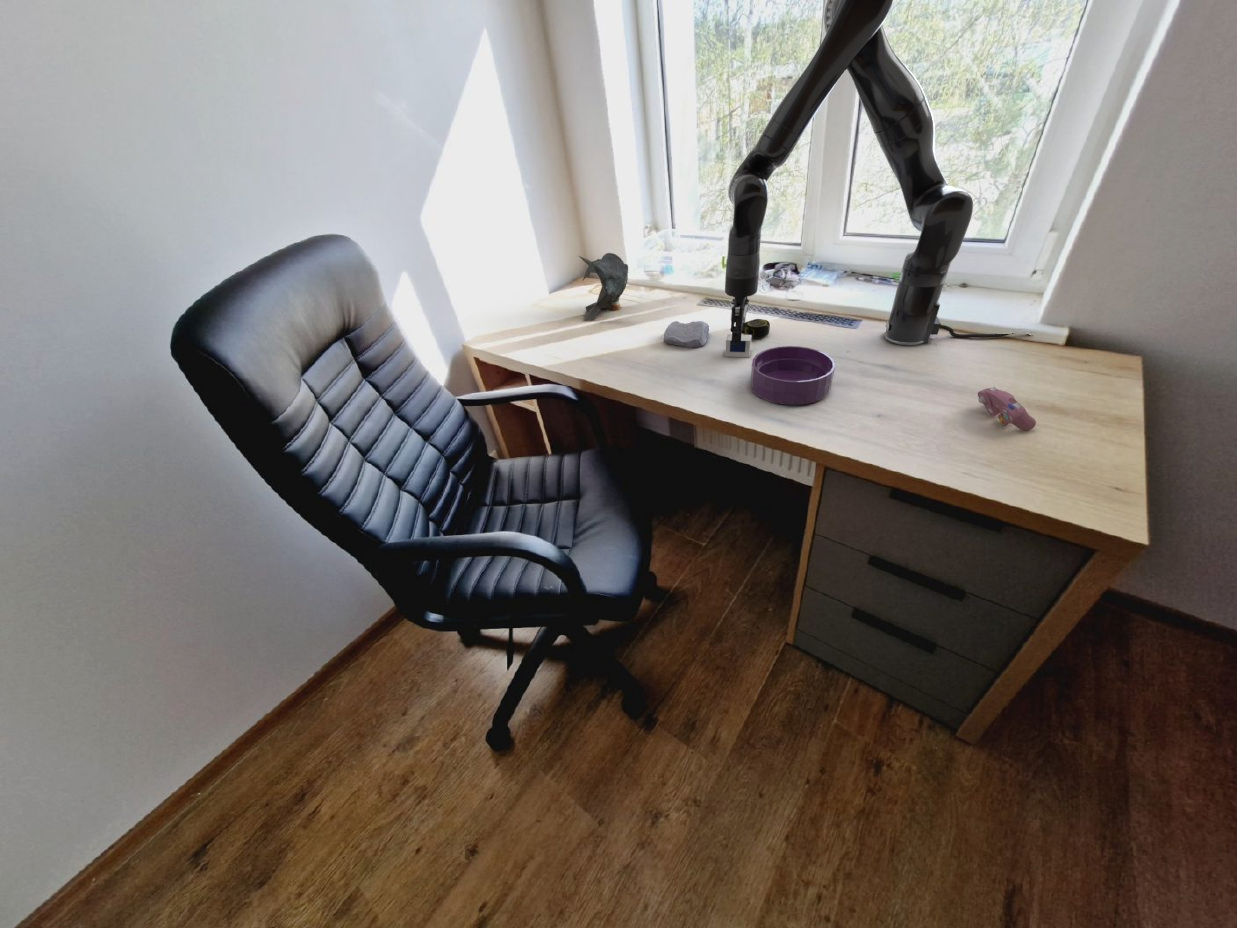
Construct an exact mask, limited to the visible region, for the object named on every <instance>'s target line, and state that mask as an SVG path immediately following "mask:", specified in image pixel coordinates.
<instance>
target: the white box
mask: <svg viewBox="0 0 1237 928" xmlns="http://www.w3.org/2000/svg"><path fill="white" fill-rule="evenodd" d="M731 342H732V333H729V334H727V336H726V339H725V353H724V354H725V355H724V356H725V357H730V358H731V357H732V358H733V357H734V358H736V357H737V358H750V356H751V351H752V350H751V348H752V335H745V334H741V345H740V346H732V345H731Z"/></svg>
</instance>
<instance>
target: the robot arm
mask: <svg viewBox="0 0 1237 928" xmlns="http://www.w3.org/2000/svg"><path fill="white" fill-rule="evenodd" d="M893 3H894V0H826V3H825V6H824V11H823V26H824V27H823V28H824V32H825V36H824V38H823V40H822V42H821V43H820V45H819V47H818V49H817V50H816V52H815V54H814V55H813V57H812V58H811V60H810V62H809V63H808V65H807V66H806V67H805V69H804V71H803V72H802V73H801V75H800V76H799V77H798V78H797V80H796V81H795V82H794V84H793V86H792V87H791V88H790V89H789V91H788V92H787V93H786V94H785V96H784V97H783V99H782V100H781V101H780V103H778V106H777V107H776V109H775V111H774V112H773V114H772V116H771V117H770V119H769V120H768V122H767V124H766V126H765V128H764V129H763V131H762V133H761V135H760V136H759V138H758V140H757V142H756V144H755V145H754V147H753V148H752V149H751V151H750V152H749V153H748V154H747V155H746V156H745V158H744V160H742V162H741V163H740V165H739V166H738V168H737V169H736V171H735V172H734V174H733V176H732V178H731V180H730V182H729V185H728V188H727V195H728V199H729V202H730V203H731V204H732V205H733V218H732V225H730V227H729V231H728V240H727V241H728V242H727V255H726V262H725V278H724V279H725V280H724V293H725V294H726V295H727V296H729V297H732V300H731V304H730V310H731V312H730V333H731V334H732V342H731V345H732V346H740V345H741V335H743V334H742V332H743V331H744V325H745V322H746V319H747V318H746V317H747V313H748V312H749V304H750V298H748V297H752V296H754V295H755V294H756V293H757V292H758V286H759V276H760V266H761V265H760V264H761V255H760V254H761V253H760V252H761V240H762V227H763V224H764V221H765V216H766V213H767V208H768V204H769V203H768V202H769V186H768V182H767V181H768V180H769V179H770V177H771V176H772V174H773V173H774V172H775V170H776V169H778V168H781V167H782V166H783V165H784V164H785V163H786V162H787V160H788V158H790V156H791V154H792V152H793V151H794V149H795V148H796V146H797V144H798V143H799V142H800V140H801V138H802V136H803V135H804V133H805V131H806V129H808V127H809V125H810V123H812V120H813V119H814V117H815V116H816V115H817V113H818V111H819V109H820V108H821V106H822V105H823V103H824V102H825V100H826V99H827V97H828V96H829V95H830V93H831V92H832V91H833V88H834V87H835V85H836V84H837V83H838V82H839V80H840V79H841V77H842V76H843V75H844V74H845V72H846V70H847V72H848V74H849V76H850V77H851V80H852V82H853V84H854V87H855V89H856V92H857V95H858V97H859V100H860V103H861V105H862V107H863V109H864V112H865V114H866V116H867V118H868V121H869V124H870V127H871V129H872V132H873V134H874V135H875V139H876V140H877V143H878V145H879V147H880V149H881V151H882V153H883V155H884V157H885V159H886V162H887V163H888V165H889V167H890V169H891V172H892V173H893V175H894V176H895V178H896V180H897V182H898V184H899V187H900V189H901V192H902V196H903V199H904V203H905V206H906V211H907V213H908V216H909V219H910V222H911V224H912V226H913V228H914V229H916V230H917V231H919V232H920V235H919V239H918V241H917V245H916V247H915V249H914V250H911V251H909V252H908V253H907V254H906V255H905V258H904V260H903V263H902V268H901V272H900V276H899V279H898V284H897V287H896V291H895V294H894V298H893V302H892V305H891V310H890V314H889V317H888V320H887V321H885V332H884V335H883V337H884V339H885V340H886V341H887V342H889V343H892V344H895V345H900V346H918V345H923V344H929V341H930V338H931V335H932V336H938V335H939V331H940V329H941V330H945V331H946V332H947V331H948V333H949V335H950V336H951V337H953V338H958V339H972V338H973V339H975V338H976V339H980V338H981V339H982V338H983V339H985V338H986V339H987V338H990V339H991V338H1001V337H1006V336H1010V335H1014V334H1015V333H1012V334H997V333H956V332H955V331H954V329H953V328H952V327H951V326H948V325H945V324H942V323H941V321H940V320H939V317H938V313H939V311H940V307H941V304H940V302H939V301H940V298H941V295H942V292H943V290H944V289H943V288H944V286H945V282H946V279H947V276H948V273H949V269H950V267H951V263H952V262H953V261H954V259H955V258H956V257H957V255H958V254H959V251H960V249H961V247H962V244H963V241H964V239H965V237H966V234H967V231H968V228H969V225H970V223H971V220H972V217H973V216H972V215H973V212H974V200H973V197H972V195H971V194H970V193H969V192H967V191H965V190H963V189H959V188H956V187H953V186H951V185H949V183H948V182H947V180H946V179H945V177H944V175H943V173H942V171H941V168H940V167H939V163H938V162H937V158H936V153H935V140H936V139H935V137H936V135H935V134H936V130H935V120H934V116H933V113H932V110H931V107H930V105H929V102H928V99H927V97H926V94H925V92H924V89H923V87H922V85H921V84H920V82H919V81H918V79H917V78H916V76H915V75H914V74H913V72H912V71H910V69H909V68H908V67H907V66H906V64H905V63H904V62H903V61H902V60H901V59H900V57H898V55H897V54H896V52H895V51H894V50H893V48H892V46H891V44H890V42H889V40H888V37H887V35H886V32H885V29H884V25H883V24H884V23H885V21H886V19H887V18H888V15H889V13H890V12H891V8H892V6H893ZM1028 336H1029V337H1031V336H1030V335H1028Z"/></svg>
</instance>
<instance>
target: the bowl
mask: <svg viewBox="0 0 1237 928" xmlns="http://www.w3.org/2000/svg"><path fill="white" fill-rule="evenodd" d="M751 361H752V362H751V371H750V381H749V382H750V384H749V385H750V388H751V391H752V392H753V393H754V394H755V395H757V396H758V397H760V398H761V399H763V400H766V401H767V402H768V401H769V402H771V403H775V404H778V405H785V406H801V405H807V404H811V403H812V404H813V403H815V402H818V401H820V400H823V399H824V398H825V397H827V396H828V395H829V394H830V392H831V390H832V384H833V379H834V374H835V369H836V363H835V361H834V359H833V358H832V357H831V356H830V355H828V354H827V353H826V352H824V351H821V350H818V349H815V348H811V347H807V346H799V345H797V346H795V345H785V346H776V347H771V348H767V349H765V350H762V351H760V352H758V353H757V354H756V355H755V356H754V357H753V358H752V360H751Z"/></svg>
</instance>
